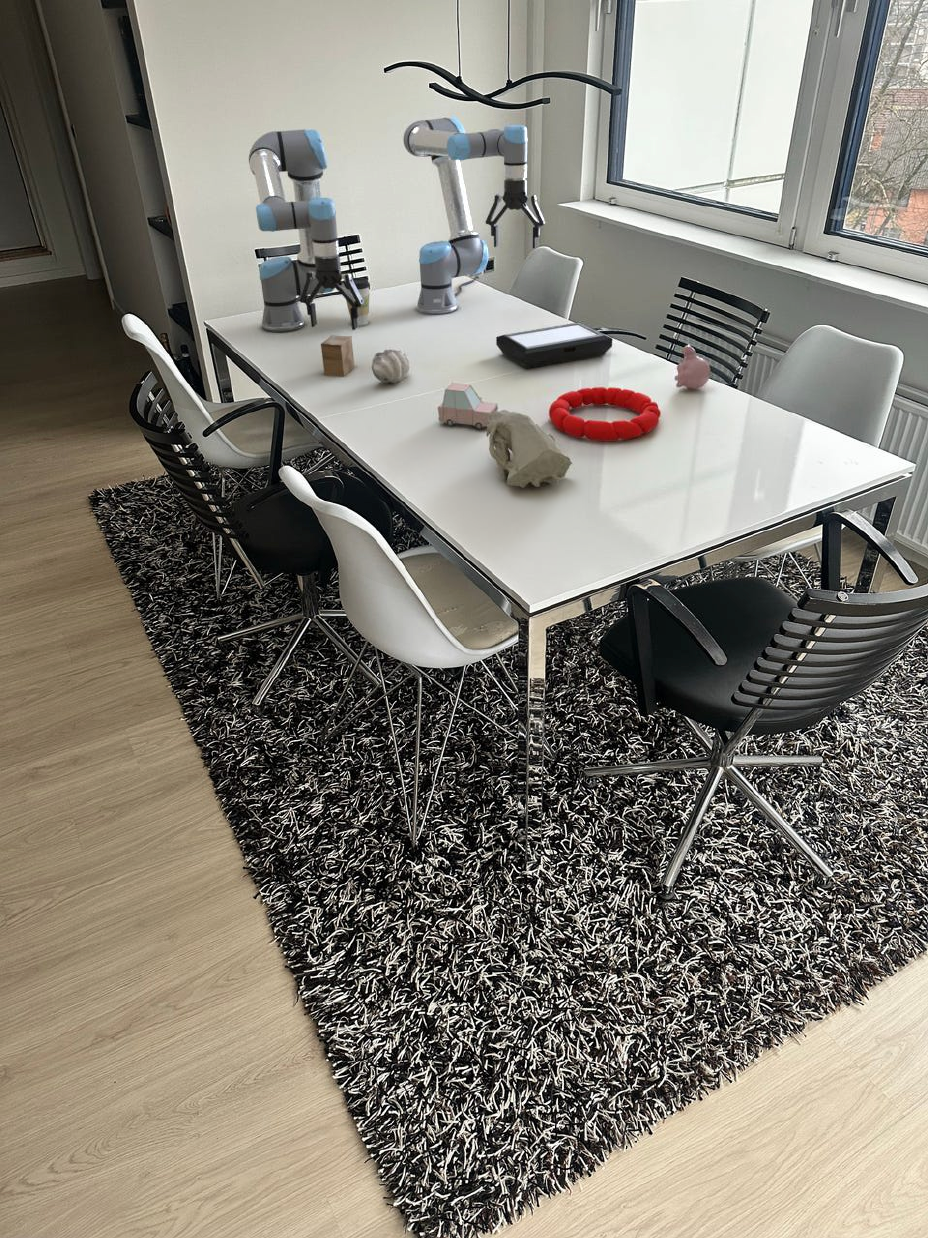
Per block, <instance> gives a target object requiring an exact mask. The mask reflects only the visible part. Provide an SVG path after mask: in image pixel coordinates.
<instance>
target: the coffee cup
mask: <svg viewBox="0 0 928 1238" xmlns="http://www.w3.org/2000/svg"><path fill="white" fill-rule="evenodd" d="M352 280H353V282H354V284H355V286H356V288H357V289H358V291H359V293H360V295H361V297H362V299H363V301H364V304H363V305H362V306H360V307H359V317H358V318H357V326H358V327H359V326H365V325H368V324H369V317H370V316H369V313H370V287H371V283H370V282H369V279H367V278H365V277H352ZM343 284H344V285H345V287H346V289H347V290H348V291H349V292H350V290H349V288H348V286H347V284H346V282H345V281H344V280H343ZM350 293H351V292H350ZM351 295H352V293H351ZM352 296H353V295H352ZM345 301H346V305H347V310H348V314H349V318H350V319H351V312H350V308H351V307H352V306H351V305H350V304H349V302H348V301H347V300H346V299H345Z"/></svg>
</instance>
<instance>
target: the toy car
mask: <svg viewBox="0 0 928 1238" xmlns="http://www.w3.org/2000/svg"><path fill="white" fill-rule="evenodd" d="M498 409H499V404H498V403H497V402H490V401H489V402H487V401H483V397H481V396H480V395H479V394H478V393H477V391H476V390H475V389H474V386H472V384H469V383H459V382H451V383H450V384H449V385H448V386H447V387H446V388H445V389H444V394H443V399H442V403H440V404H439V405H438V406H437V413H438V421H439V422H443V423H446V425H447V426H448V427H452V426H454V425H455V424H461V425H469V426H473V427H475V429H476V430H479V431H480V430H481V429H483V428H485V427H486V428H487V423H488V422H490V414H491V413H492V412H496V411H499V410H498Z"/></svg>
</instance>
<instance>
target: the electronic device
mask: <svg viewBox="0 0 928 1238" xmlns="http://www.w3.org/2000/svg"><path fill="white" fill-rule="evenodd" d="M495 339H496V340H495V341H496V342H495V345H496V347H497V348H498V349H499V351H500V352H501V353H502V355H504V356H505V357H508V358H509V359H511V360H512V361H514V362H515V363H517V364H518V365H521V366H522V367H523V368H524V369H525V370H527V369H530V368H535V367H542V366H546V365H553V364H558V363H565V362H569V361H576V360H580V359H587V358H592V357H597V356H603V355H606V354H607V352H608V351H610V349H611V348H612V347H613V338H612V337H610V336H608V335H606V334H605V333H602V332H601V331H598V330H597V329H594V328H593V327H590V326H588V325H586V324H584V323H583V322H573V323H572V322H571V323H567V324H561V325H554V326H548V327H543V328H537V329H536V328H535V329H531V330H525V331H520V332H519V331H518V332H513V333H507V334H502V335H498V336H496V337H495Z"/></svg>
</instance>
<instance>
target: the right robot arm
mask: <svg viewBox="0 0 928 1238" xmlns="http://www.w3.org/2000/svg"><path fill="white" fill-rule="evenodd" d="M402 138H403V145H404V148H405V150H406V151H407V152H408V153H409V154H410V155H412V156H414V157H420V158H423V157H424V158H425V157H427V158H428V157H430V158H431V163H432V165H434V166H435V167H437V172H438V177H439V183H440V187H441V192H442V197H443V203H444V207H445V213H446V217H447V222H448V227H449V233H450V237H449V239H448V241H447V240H438V241H431V242H429V243H426V244H424V245H422V246H421V248H420V249H419V259H418V262H419V274H420V292H419V296H418V299H417V306H416V307H417V311H418V312H419V313H421V314H425V315H443V314H445V315H446V314H449V313H453V312H456V310H458V301H457V299H456V296H458V295H460V293H461V292H462V290H463V288H462V287H463V286H466V285H468V284H471V283H474V282H476V280H477V279H478V280H479V279H480V276H478V274H480V273H482V272H484V270H485V269H486V268H487V265H488V262H489V249H488V245H487V244H486V242H485V241H484V239H480V236H479V233H478V232H477V231H475V229H474V227H473V220H472V216H471V211H470V205H469V200H468V195H467V190H466V184H465V179H464V174H463V170H462V163H461V161H464V160H473V159H482V158H483V159H484V158H493V157H503V178H504V181H503V195H502V194H500V193H497V194H495V195H494V199H493V204H492V205H491V208H490V210H489V213H488V215H487V217H486V220H485V224H486V225H488V226H490V235H491V237H493V248H497V247H498V246H499V225H498V224H497V223H498V222H499V220H500V219H501V218H502V217H503V215H504V214H505V213H506V211H507V210H508V209H509V210H510V211H511V210H516V211H519V210H521V211H522V212H524V214H525V215H526V216H527V218H528V219H529V220H530V222H531V223H532V225H533V227H532V249H536V248H537V239H538V238H539V237H540V234H541V233H540V231H541V230H540V229H541V227H543V226H544V225H545V224H546V220H545V218H544V215H543V213H542V211H541V208H540V206H539V204H538V201H537V195H536V194H531V195H528V193H527V189H528V181H527V180H528V179H527V177H528V175H527V174H528V173H527V172H528V141H529V139H528V129H527V127H526V126H525V125H524V124H509V125H506V126H504V127H503V130H501V129H500V128H495V129H493V128H491V129H488V130H487V131H486V130H485V131H478V132H466V130H465V127H464V126H463V124H462V123H461V122H460V121H459V120H458V119H457V118H455V117H443V118H434V119H421V120H416V121H414V122H412V123H411V124H409V125H408V126H407V128H406V129H405V131H404V133H403V137H402ZM502 201H503V202H504V206H502V207H501V209H500V211H498V213H497V215H496V216H495V218H493V217H494V215H495V213H496V211H497V208H498V206H499V203H501V202H502ZM527 201H529V203H531V206H532V209H533V211H534V213H535V215H534V213H533V212H532V210H531V209H530V208H529V206H528V205H527ZM492 219H493V220H492ZM476 274H477V275H476ZM474 275H475V276H474ZM466 276H474V277H473V279H472V280H471V279H470V280H469V281H466V282H464V283H462V284H460V285H459V290H458V291H457V292H455V293H454V289H453V279H455V278H461V277H466Z"/></svg>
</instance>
